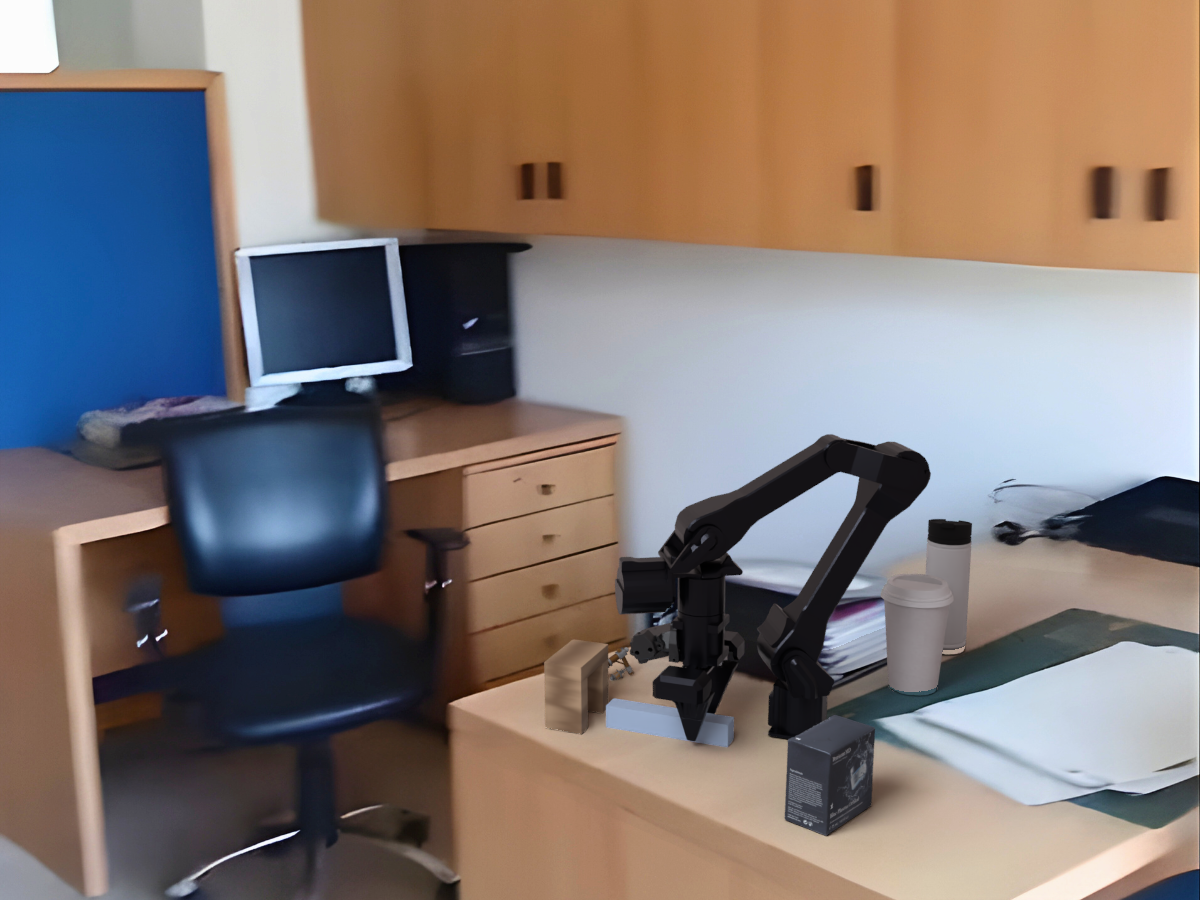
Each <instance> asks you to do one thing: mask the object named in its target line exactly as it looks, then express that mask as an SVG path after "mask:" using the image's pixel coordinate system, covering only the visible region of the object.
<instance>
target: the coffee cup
mask: <svg viewBox="0 0 1200 900" xmlns="http://www.w3.org/2000/svg"><path fill="white" fill-rule="evenodd" d="M880 597H881V598H882V599H883V604H884V622H885V623H884V624H885V640H886V641H885V642H886V661H887V662H886V663H887V664H886V665H887V666H886V667H887V685H888V684H889V685H890V687H892V688H894V689H895V690H899V691H904V692H919V691H920V692H921V691H928V690H931V689H934V688H936V687H937V685H939V679H940V672H941V665H942V659H943V655H942V652H943V645H944V638H945V631H946V624H947V618H948V611H949V605H950V604H951V603H952V602H953V601H954V598H953V594H952V592H951V590H950V589H949V586H948V583H947V582H946V581H945V580H943V579H941V578H939V577H935V576H931V575H926V573H899V574H895V575H892V576H889V577H888V578H887V580H886V583H884V585H883V587H882V589H881V591H880ZM937 688H938V687H937Z"/></svg>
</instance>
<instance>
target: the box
mask: <svg viewBox="0 0 1200 900" xmlns="http://www.w3.org/2000/svg"><path fill="white" fill-rule="evenodd" d="M875 739H876V727H874V726H872V725H869V724H866V723H863V722H859V721H856V720H853V719H850V718H847V717H843V716H840V715H837V714H833V715H831V716H829V717H827V720H825V721H823V722H821V723H820V724H817V725H816V726H814V727H812V728H810V729H808V730H807V731H805V732H803V733H801V734H799V735H797V736H796V737H792V738H790V739H787V750H786V751H787V753H786V756H787V757H786V778H785V797H784V798H785V801H784V816H783V817H784V821H787V822H789V823H793V824H795V825H798V826H800V827H802V828H805V829H807V830H810V831H812V832H816V833H818V834H819V835H823V836H828V835H829V834H831V833H832V832H834V831H835V830H837V829H838V828H840V827H841V826H843V825H844V824H846V823H847V822H849V821H851V820H852V819H854V818H855V817H856V816H858V815H860V814H861V813H862V812H864V811H866V810H867V809H868V808H870V807H872V801H873V780H874V779H873V777H874V774H873V773H874V757H875V755H874V754H875V741H876V740H875Z"/></svg>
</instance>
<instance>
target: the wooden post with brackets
mask: <svg viewBox="0 0 1200 900" xmlns="http://www.w3.org/2000/svg"><path fill="white" fill-rule="evenodd" d="M628 652H630V648H629V647H618V648H616V651H615V652H614V654H613V655H611V656H610V657H608V669H609V668H610V667H612V666H614V664H615V663H617V664H620V665H623V666H624V669H620V670H618V669H615V670H616V671H615V672H612V673H610V675H611V676H610V677H609V680H610V681H617V680H619V679H620V678H622V679H623V678H624V677H623V675H624V674H625V672H627V673H628V675H630V676H632V675H634V671H633V668H632V667H631V664H629V661H628V660H627V658H626V656H627V655H628ZM619 660H621V661H619Z"/></svg>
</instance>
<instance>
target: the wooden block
mask: <svg viewBox="0 0 1200 900" xmlns="http://www.w3.org/2000/svg"><path fill="white" fill-rule="evenodd" d="M608 658H609V644H608V643H603V642H596V641H588V640H582V639H581V640H580V639H571V640H570V641H569V642H567V643H566V644H565V645H564V646H563V647H561V648H560V649H559V650H558V651H556V652H555V653H554V654H552V655H551V656H550V657H549V658H547V660H545V661H544V662H543V665H544V666H543V670H544V673H543V674H544V728H545V727H547V728H552V729H551V730H553V729H558V730H557V731H559V730H562V731H561V732H565V731H568V732H567V733H571V732H574V733H573V734H577V733H580V734H579V735H583V733H584V732H585V731H587V730H588V728H589V725H588V723H589V719H588V718H589V716H588V713H589V712H591V713H598V714H604V713H606V705H607V704H608V703H609V668H608ZM547 728H546V729H547ZM563 730H564V731H563Z"/></svg>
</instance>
